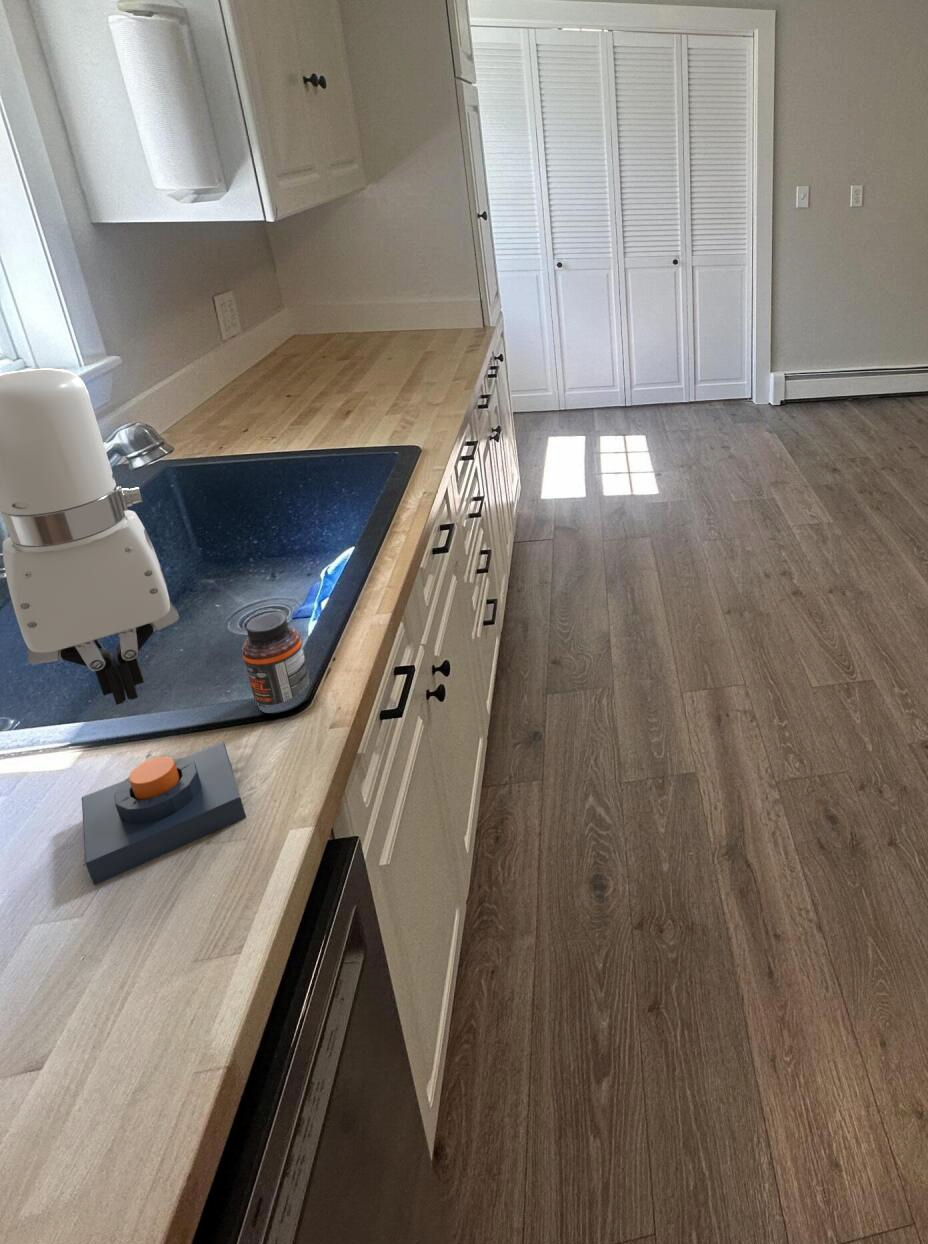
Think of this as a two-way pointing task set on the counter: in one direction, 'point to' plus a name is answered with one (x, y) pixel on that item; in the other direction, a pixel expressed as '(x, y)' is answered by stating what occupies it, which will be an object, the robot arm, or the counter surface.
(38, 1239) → the counter surface
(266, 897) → the counter surface
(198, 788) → the button box
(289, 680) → the supplement bottle
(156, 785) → the push button
